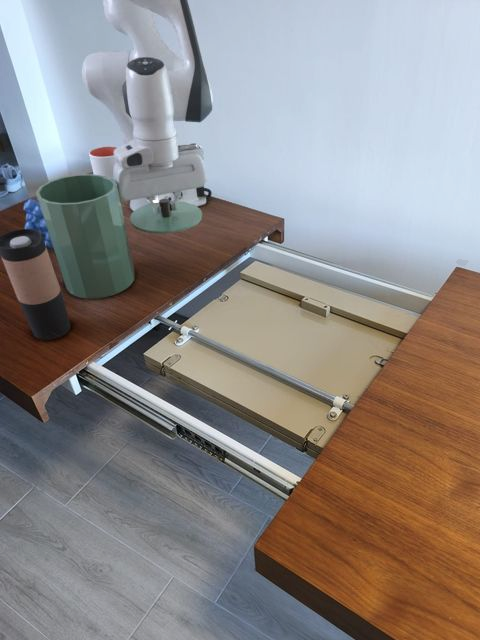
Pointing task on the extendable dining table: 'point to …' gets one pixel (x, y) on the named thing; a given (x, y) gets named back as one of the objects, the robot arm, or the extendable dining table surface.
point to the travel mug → (35, 282)
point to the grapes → (36, 220)
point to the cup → (103, 161)
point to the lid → (166, 217)
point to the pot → (88, 234)
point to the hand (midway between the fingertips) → (165, 211)
